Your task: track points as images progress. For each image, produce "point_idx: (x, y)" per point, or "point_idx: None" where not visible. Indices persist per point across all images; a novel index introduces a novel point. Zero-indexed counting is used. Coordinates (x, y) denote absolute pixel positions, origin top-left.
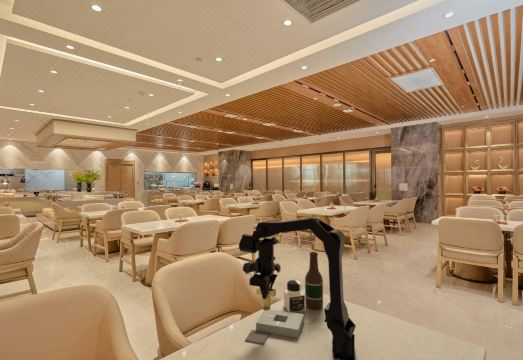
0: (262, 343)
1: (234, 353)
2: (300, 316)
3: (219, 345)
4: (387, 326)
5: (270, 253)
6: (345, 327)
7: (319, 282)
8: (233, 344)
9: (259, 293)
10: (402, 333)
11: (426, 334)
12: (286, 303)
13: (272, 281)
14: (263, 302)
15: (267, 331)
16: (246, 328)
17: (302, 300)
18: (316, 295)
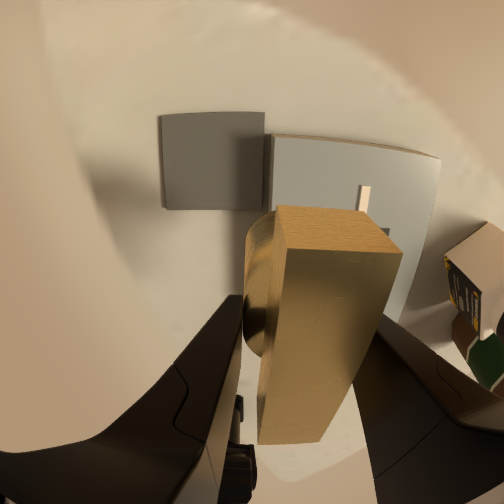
0: (166, 203)
1: (75, 120)
2: None
3: (103, 34)
4: (353, 439)
5: None
6: (246, 454)
7: None
8: (124, 80)
9: (273, 265)
10: (328, 451)
11: (328, 463)
12: (483, 248)
13: (384, 480)
14: (246, 266)
15: (269, 196)
16: (280, 77)
17: (470, 321)
18: (473, 364)
